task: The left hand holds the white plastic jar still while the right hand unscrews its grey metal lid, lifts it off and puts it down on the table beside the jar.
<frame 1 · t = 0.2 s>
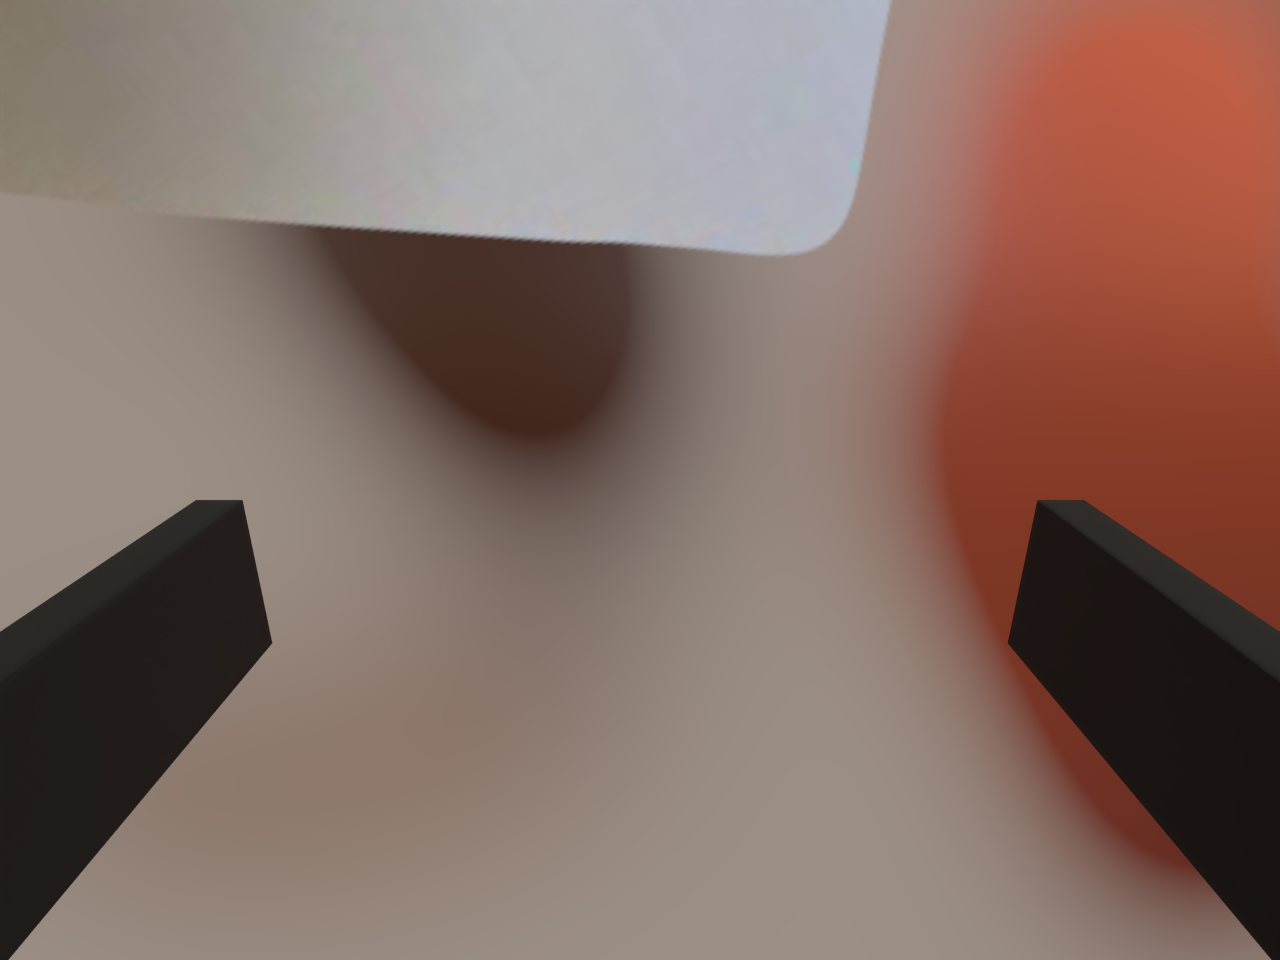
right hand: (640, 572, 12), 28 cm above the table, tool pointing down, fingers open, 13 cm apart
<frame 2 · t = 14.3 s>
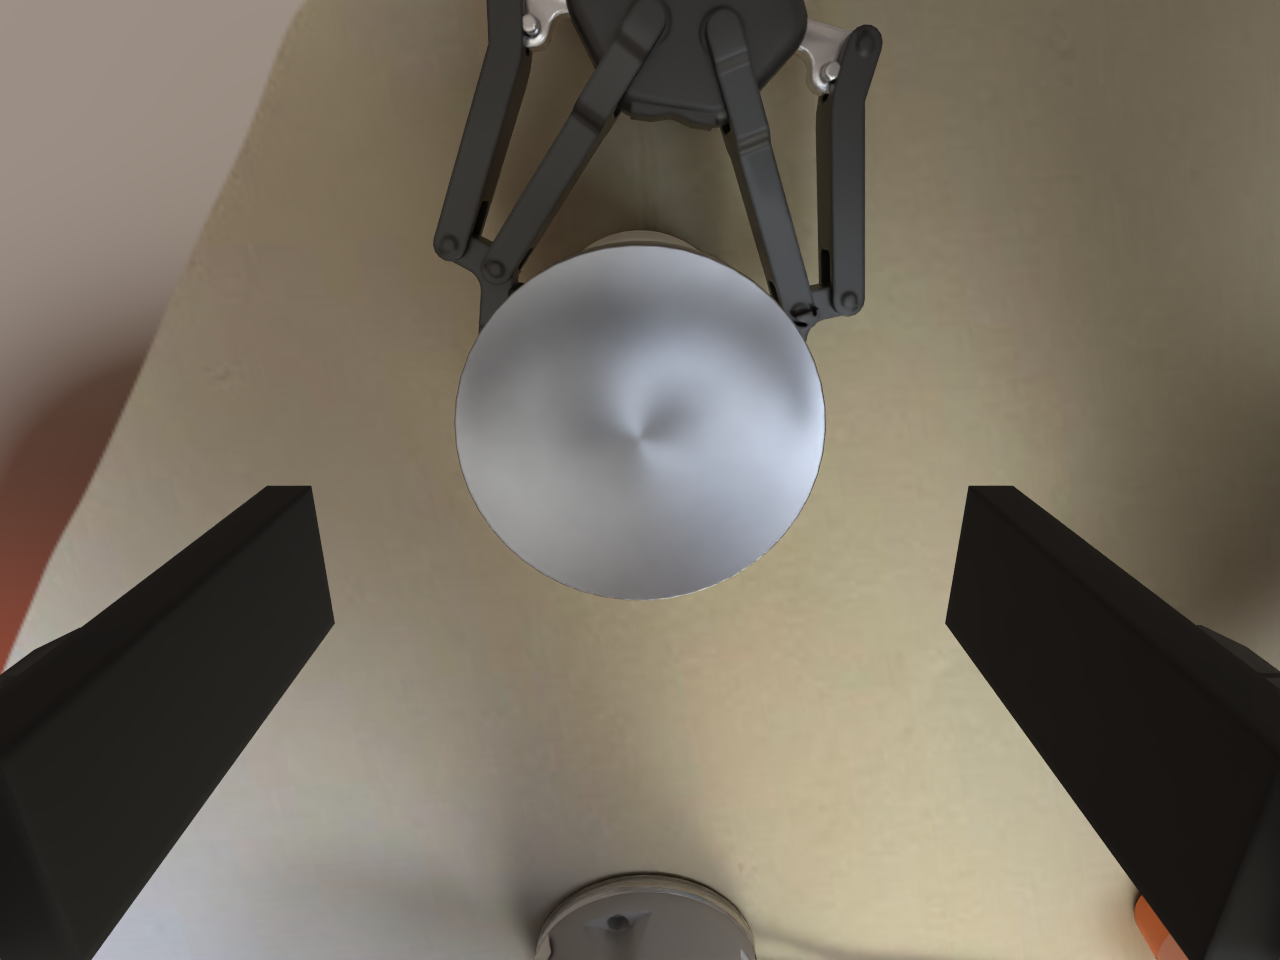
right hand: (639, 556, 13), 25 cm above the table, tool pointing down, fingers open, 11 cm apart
left hand: (626, 455, 32), fingers closed on jar, 9 cm apart
jar: (640, 329, 36), on the table, touching left hand
lid: (640, 434, 20), point 17 cm above the table, screwed on, not yet turned
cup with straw: (1177, 901, 50), on the table
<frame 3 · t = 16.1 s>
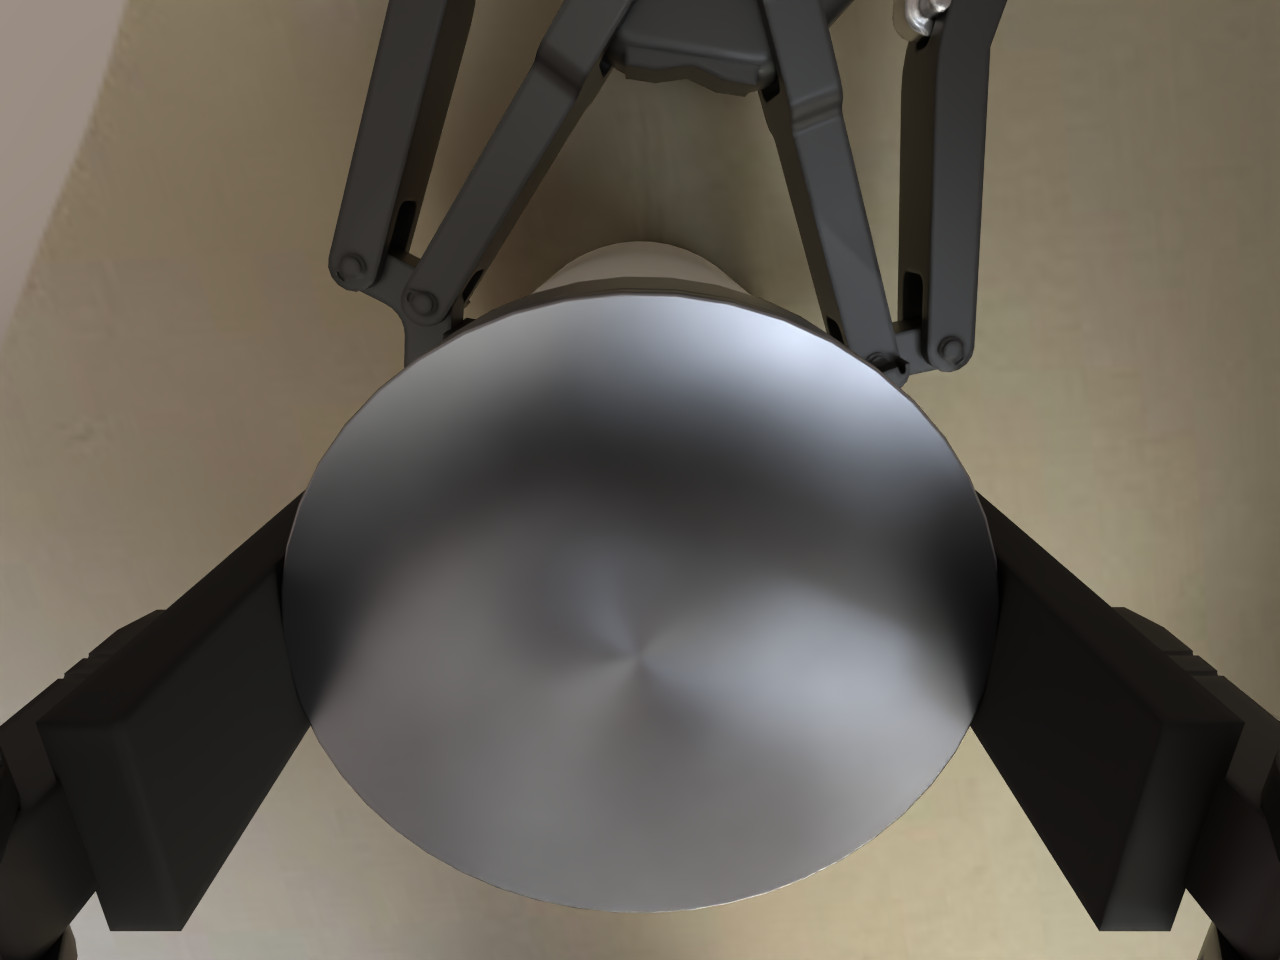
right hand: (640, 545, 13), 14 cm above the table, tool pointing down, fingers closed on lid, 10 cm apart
jar: (640, 373, 27), on the table, touching left hand
lid: (640, 642, 10), point 17 cm above the table, screwed on, not yet turned, touching right hand
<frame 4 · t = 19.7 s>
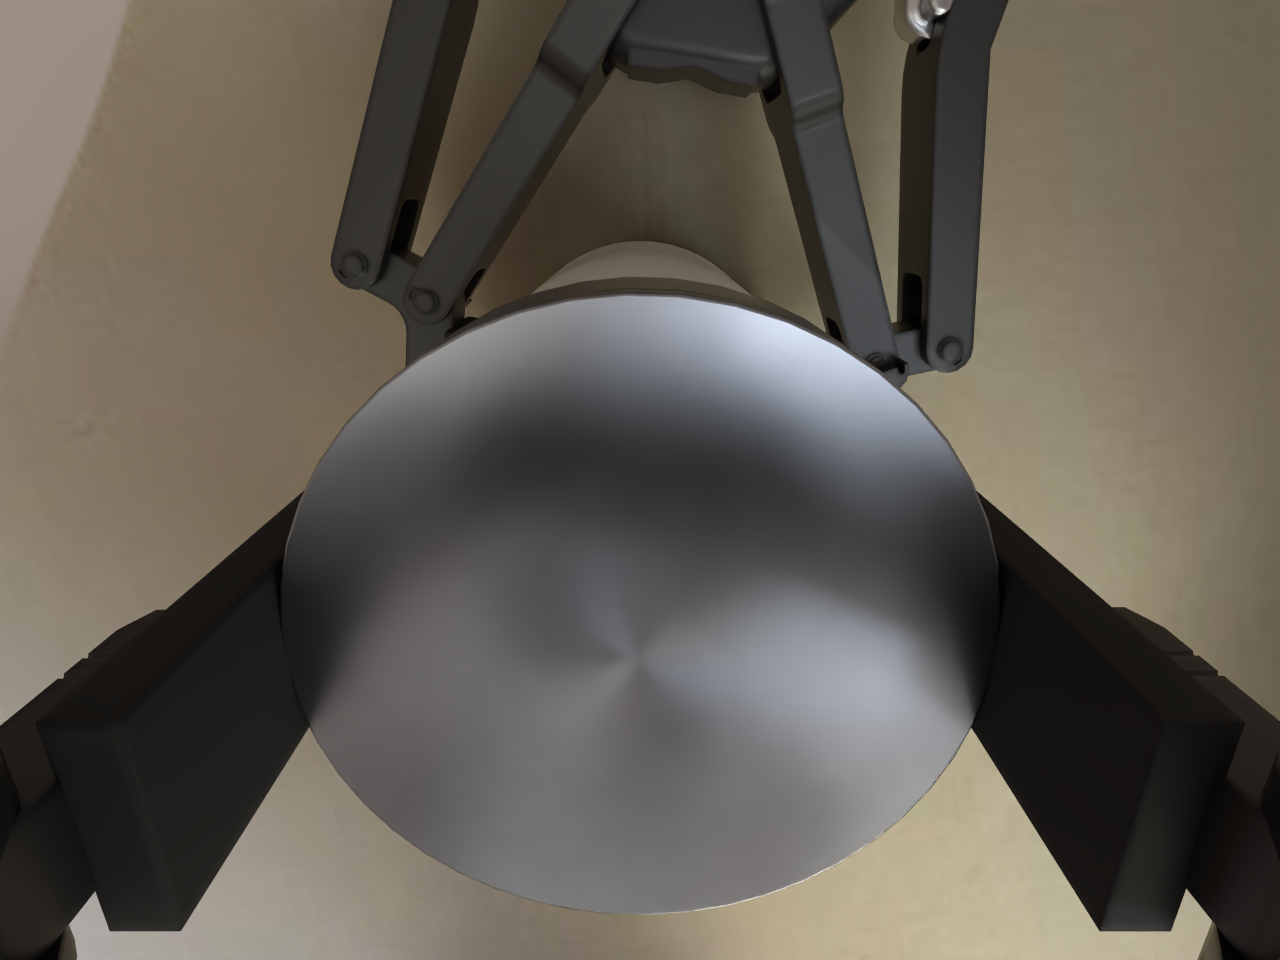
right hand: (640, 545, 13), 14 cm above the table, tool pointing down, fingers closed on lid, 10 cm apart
left hand: (620, 558, 23), fingers closed on jar, 9 cm apart
jar: (640, 372, 27), on the table, touching left hand
lid: (640, 643, 10), point 18 cm above the table, turned 112° so far, risen 0.1 cm, still on its thread, touching right hand
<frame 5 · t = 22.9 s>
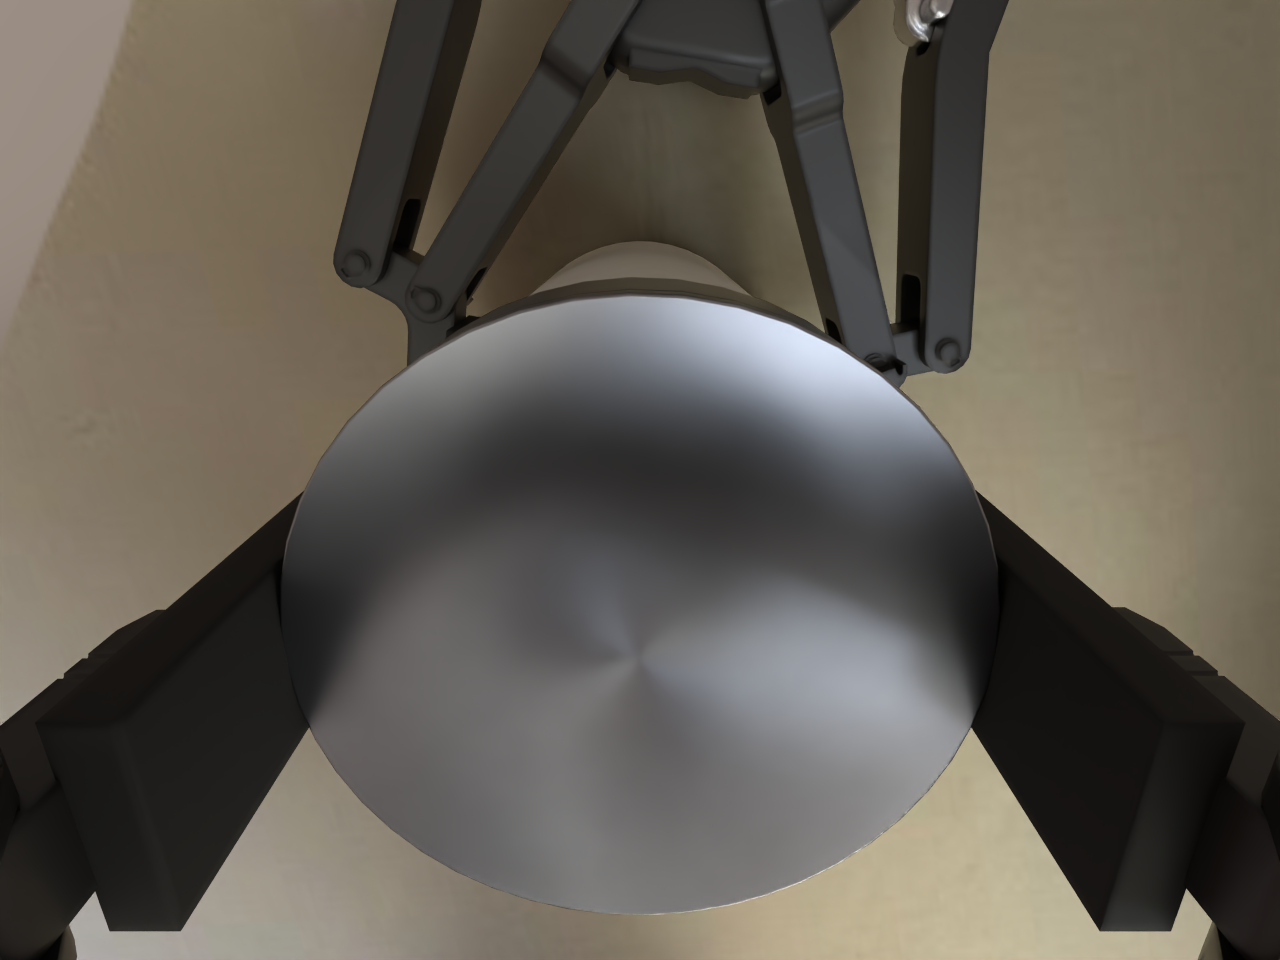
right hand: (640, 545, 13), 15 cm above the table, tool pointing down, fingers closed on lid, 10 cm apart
jar: (640, 372, 27), on the table, touching left hand
lid: (639, 643, 10), point 18 cm above the table, turned 225° so far, risen 0.2 cm, still on its thread, touching right hand
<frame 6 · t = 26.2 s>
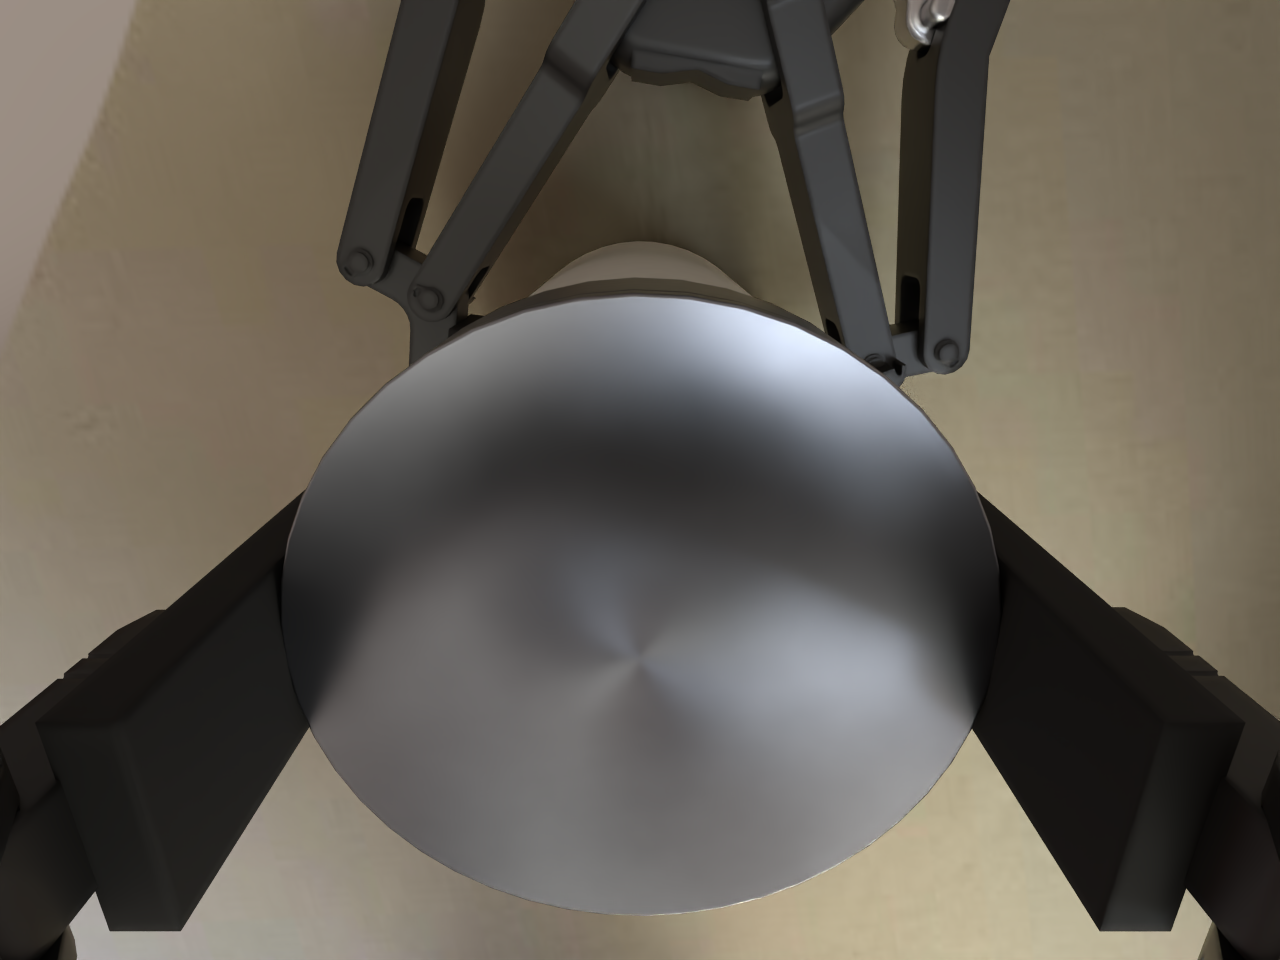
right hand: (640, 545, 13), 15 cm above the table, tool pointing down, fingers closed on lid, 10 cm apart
left hand: (619, 555, 23), fingers closed on jar, 9 cm apart
jar: (640, 372, 27), on the table, touching left hand
lid: (640, 644, 10), point 18 cm above the table, turned 337° so far, risen 0.4 cm, still on its thread, touching right hand
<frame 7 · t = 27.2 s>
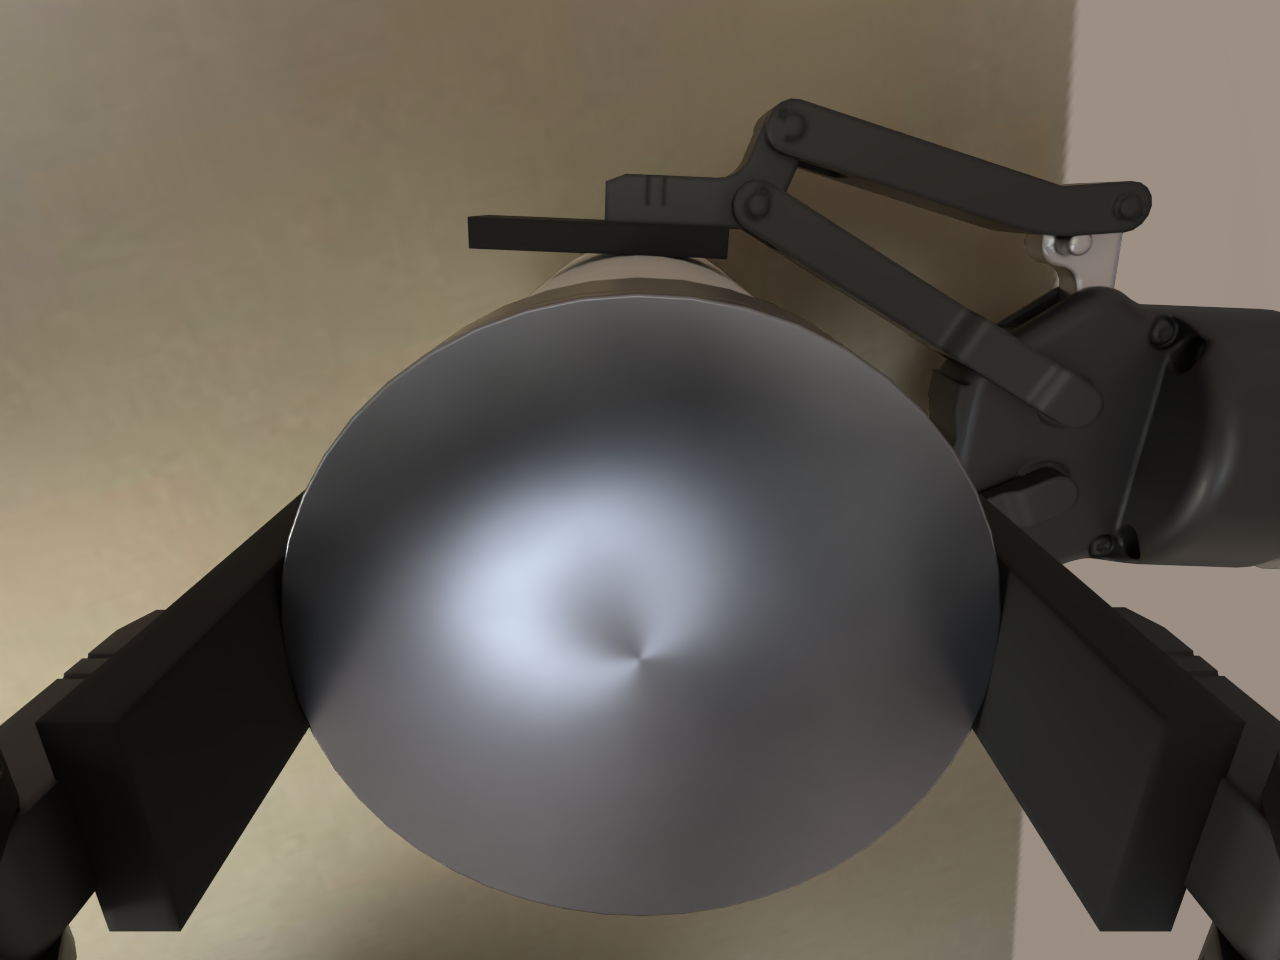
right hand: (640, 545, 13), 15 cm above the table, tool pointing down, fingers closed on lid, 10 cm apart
left hand: (486, 411, 21), fingers closed on jar, 9 cm apart
jar: (640, 371, 27), on the table, touching left hand
lid: (640, 644, 10), point 18 cm above the table, turned 420° so far, risen 0.5 cm, still on its thread, touching right hand
when the right hand's fingers open (0 cm above the table, at t = 34.0 s): lid drops 2 cm, point 2 cm above the table.
when the left hand's fingers open (6 cm above the table, at t = 35.1 s): jar stays where it is, on the table.
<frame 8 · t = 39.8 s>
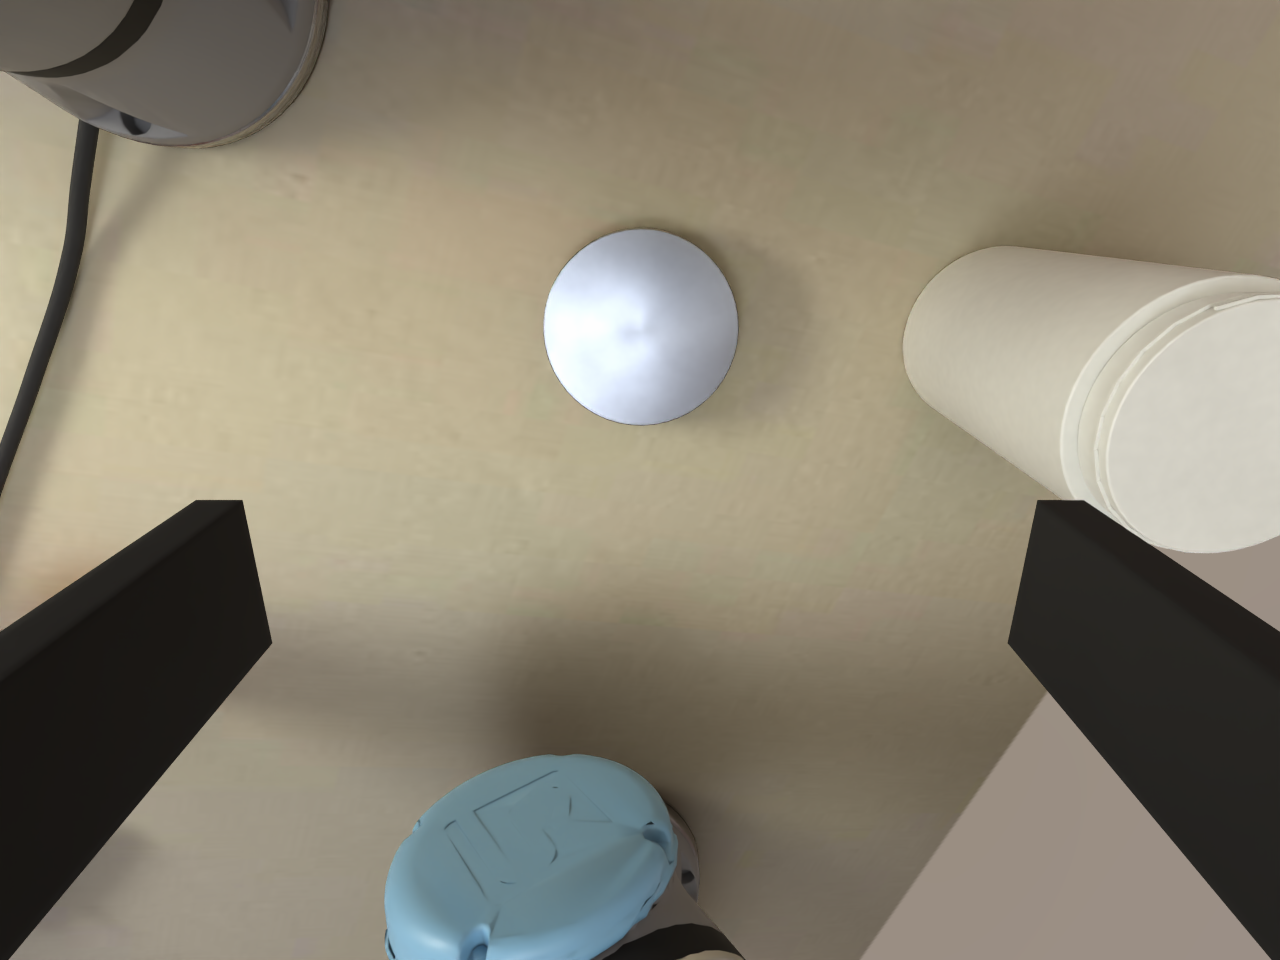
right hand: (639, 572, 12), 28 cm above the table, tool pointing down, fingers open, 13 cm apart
jar: (990, 337, 39), on the table
lid: (640, 330, 37), point 2 cm above the table, off its thread
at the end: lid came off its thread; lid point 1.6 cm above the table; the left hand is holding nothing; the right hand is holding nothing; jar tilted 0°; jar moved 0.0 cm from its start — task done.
